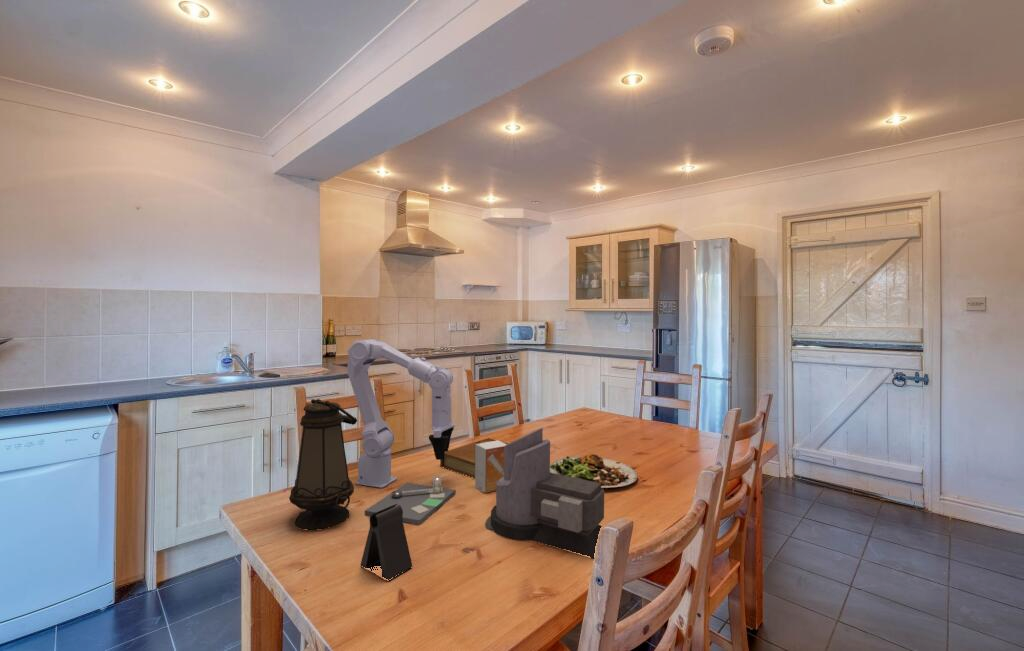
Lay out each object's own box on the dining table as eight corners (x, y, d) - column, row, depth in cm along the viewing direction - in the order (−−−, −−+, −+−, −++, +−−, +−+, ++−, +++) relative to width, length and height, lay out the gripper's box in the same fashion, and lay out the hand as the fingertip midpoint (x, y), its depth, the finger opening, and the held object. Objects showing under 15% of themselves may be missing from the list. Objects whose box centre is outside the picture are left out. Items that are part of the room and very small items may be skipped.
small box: (485, 494, 127) (485, 449, 127) (474, 486, 132) (474, 443, 132) (508, 488, 131) (509, 444, 131) (497, 481, 137) (497, 439, 136)
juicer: (473, 528, 107) (473, 427, 106) (507, 503, 121) (508, 415, 120) (590, 564, 91) (591, 448, 91) (614, 532, 105) (615, 430, 105)
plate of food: (537, 484, 135) (537, 465, 134) (561, 457, 160) (562, 440, 160) (631, 503, 124) (632, 482, 124) (641, 470, 150) (642, 452, 149)
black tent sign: (360, 566, 90) (360, 508, 90) (384, 553, 95) (384, 498, 95) (388, 582, 85) (388, 521, 84) (412, 568, 90) (412, 510, 89)
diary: (486, 452, 167) (486, 437, 167) (525, 463, 155) (525, 447, 155) (440, 468, 149) (440, 451, 149) (479, 482, 137) (480, 463, 137)
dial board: (364, 515, 113) (364, 510, 113) (407, 486, 132) (407, 482, 132) (420, 525, 108) (420, 520, 108) (456, 494, 127) (456, 489, 127)
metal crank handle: (391, 498, 120) (391, 483, 120) (391, 494, 122) (391, 480, 122) (443, 493, 124) (443, 478, 124) (441, 489, 126) (441, 475, 126)
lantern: (272, 520, 110) (271, 400, 109) (327, 499, 123) (327, 391, 122) (315, 541, 100) (314, 409, 99) (370, 516, 112) (370, 399, 112)
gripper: (450, 415, 124) (451, 463, 124) (458, 404, 139) (459, 447, 139) (426, 415, 124) (426, 463, 125) (436, 405, 139) (436, 447, 139)
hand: (442, 455), depth 132 cm, fingers open, 7 cm apart
